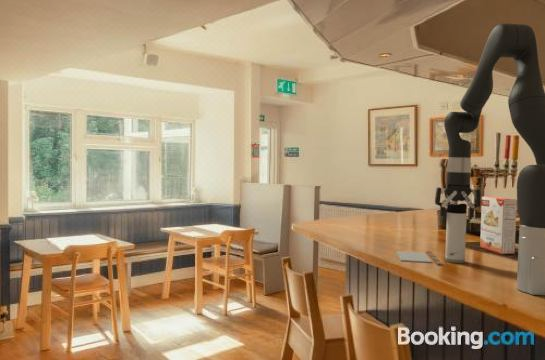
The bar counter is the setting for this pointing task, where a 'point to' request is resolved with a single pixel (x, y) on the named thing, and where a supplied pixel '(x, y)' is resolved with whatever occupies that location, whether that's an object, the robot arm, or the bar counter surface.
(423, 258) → the mat
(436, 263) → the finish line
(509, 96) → the robot arm
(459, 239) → the travel mug
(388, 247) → the bar counter surface
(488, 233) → the cracker box
